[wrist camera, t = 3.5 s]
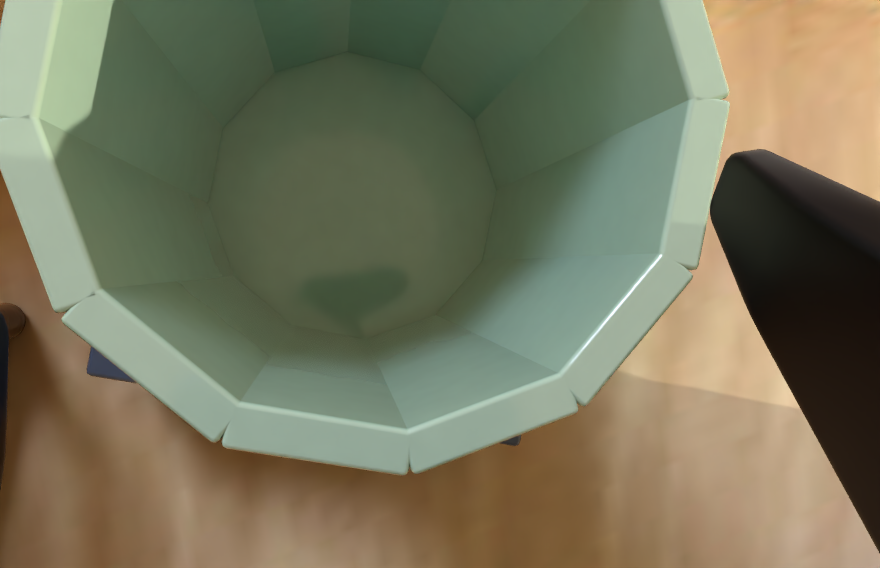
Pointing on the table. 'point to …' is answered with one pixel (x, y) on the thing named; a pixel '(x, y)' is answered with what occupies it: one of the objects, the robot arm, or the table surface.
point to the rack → (13, 318)
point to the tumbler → (362, 205)
